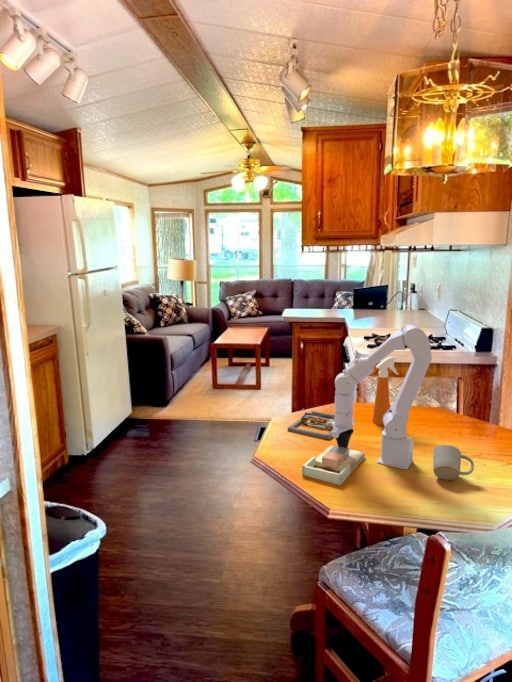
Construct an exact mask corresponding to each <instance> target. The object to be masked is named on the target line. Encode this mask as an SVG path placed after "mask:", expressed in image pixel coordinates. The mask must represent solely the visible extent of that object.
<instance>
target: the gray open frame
mask: <svg viewBox="0 0 512 682" xmlns="http://www.w3.org/2000/svg"><path fill="white" fill-rule="evenodd" d="M308 413H311V414H316V415H323V416H328V417H334V416H335V413H328V412H322V411H317V410H310V411H309V412H308ZM305 417H306V418H308V417H307V416H306V415H305ZM305 417H304V418H305ZM302 422H303V420H302V421H301V418H299V419H297V420H296V421H295V422H294V423H292V424H291V425H289V426H288V427H287V431H288V430H290V431H289V432H291V431H294V432H293V433H296V432H299V433H298V434H300V433H303V434H302V435H305V434H307V435H306V436H309V435H311V437H314V436H315V438H318V437H319V439H323V438H324V440H327V439H328V440H329V439H330V438H331V439H333V437H332V430H330V431H329V432H328V433H323V432H317V431H313V430H307V429H303V428H298V426H297V425H299V424H300V423H302ZM303 423H304V422H303ZM303 423H302V424H303ZM300 425H301V424H300ZM300 425H299V426H300ZM296 426H297V427H296ZM295 427H296V428H295ZM331 439H330V440H331ZM330 440H329V441H330Z"/></svg>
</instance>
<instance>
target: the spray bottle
mask: <svg viewBox="0 0 512 682" xmlns="http://www.w3.org/2000/svg"><path fill="white" fill-rule="evenodd" d="M396 360H397V356H396V355H395V356H394V355H393V356H389V357H386V358H384V359H382V360H381V361H379V362H378V363H377V364H376V365H375V368H376V369H379V370H378V375H377V383H376V391H375V398H374V405H373V415H372V423H373V424H374V425H378V426H384V424H383V415H384V414H385V413H386V412H387V411H388V410H389V409H390V407H391V404H390V388H389V371H388V368H389V369H390V370H391V371H392V372H393V373H394V374H396V375H398V376H399V375H400V374H399V373H398V371H397V368H396V367H395V361H396Z"/></svg>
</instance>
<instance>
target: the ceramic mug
mask: <svg viewBox="0 0 512 682" xmlns="http://www.w3.org/2000/svg"><path fill="white" fill-rule="evenodd" d="M432 454H433V455H432V456H433V457H432V459H433V460H432V462H433V464H432V465H433V466H432V469H433V473H434V475H435V476H436V478H438V479H440V480H445V481H453V480H456V479H458V478H459V476H468V475H471V474H472V473H473V471H474V469H475V463H474V460H473V459H472V458H470V457H469V456H467V455H464V454H462V452H461V450H460V449H459V448H458V447H456V446H453V445H450V444H439V445H437V446H435V447H434V448H433V452H432ZM462 459H464V460H466V461H468V462H469V463H470V465H471V466H470V468H469V470H468V471H461V464H462V463H461V462H462Z"/></svg>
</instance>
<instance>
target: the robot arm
mask: <svg viewBox="0 0 512 682" xmlns="http://www.w3.org/2000/svg"><path fill="white" fill-rule="evenodd" d="M405 346H406V347H407V348H408V349H409V351H410V352H411V354H412V357H413V358H412V360H411V362H410V365H409V367H408V370H407V371H406V374H405V376H404V379H403V381H402V384H401V385H400V388H399V391H398V392H397V396H396V397H395V399H394V402H393V403H392V404H390V409H389V410H388V411H387V412H386V413H385V414H384V415H383V424H384V425H383V426H384V429H383V430H382V432H381V447H380V449H381V451H380V457H379V458H378V460H377V461H376V463H377V464H380V465H384V466H387V467H388V466H389V467H392V468H397V469H398V468H399V469H402V470H408V469H409V468H410V466H411V464H412V463H413V461H414V438H412V437H410V436H408V435H407V424H408V421H409V416H410V415H409V414H410V410H411V408H412V405H413V403H414V400H415V398H416V396H417V394H418V392H419V389H420V388H421V386H422V383H423V380H424V378H425V376H426V373H427V372H428V369H429V366H430V365H431V362H432V359H433V355H432V350H431V345H430V338H429V337H428V336H427V334H426V333H425V331H424V330H422V329H421V327H419V325H417V324H416V323H407V324H404V325H403V326H402V327H401V329H397V330H396V331H394V333H393V334H391V335H390V336H389V337H388V338H387V339H386V340H385V341H384V342H382V343H381V344H380V345H379V346H378V347H377V348H375V350H374V351H373V352H371V353H370V354H369V355H368V356H367V357H364V356H360V357H359V358H355V359H353V364H351V365H349V367H347V369H345V368H344V369H343V370H342V372H339V374H337V375H336V377H335V379H334V387H335V391H334V415H335V416H334V420H333V421H332V422H331V425H332V426H333V429H332V430H331V431H332V438H335V441H336V443H337V446H339V447H344V448H348V447H349V443H350V440H351V437H352V435H353V434H354V432H355V430H354V429H353V428H354V424H355V417H353V416H354V412H353V411H354V396H353V392H354V390H355V386H357V385H359V384H360V383H361V382H363V381H364V380H365V379H366V378H367V377H368V376H369V375H371V374H372V373H373V372H374V369H375V368H374V367H375V366H376V365H378V364H379V363H380V362H382V361H383V360H384V359H386V358H387V356H389V355H390V354H391V353H393V352H394V351H396V350H397V351H400V350H401V351H402V350H404V351H405V350H406V347H405Z"/></svg>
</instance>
